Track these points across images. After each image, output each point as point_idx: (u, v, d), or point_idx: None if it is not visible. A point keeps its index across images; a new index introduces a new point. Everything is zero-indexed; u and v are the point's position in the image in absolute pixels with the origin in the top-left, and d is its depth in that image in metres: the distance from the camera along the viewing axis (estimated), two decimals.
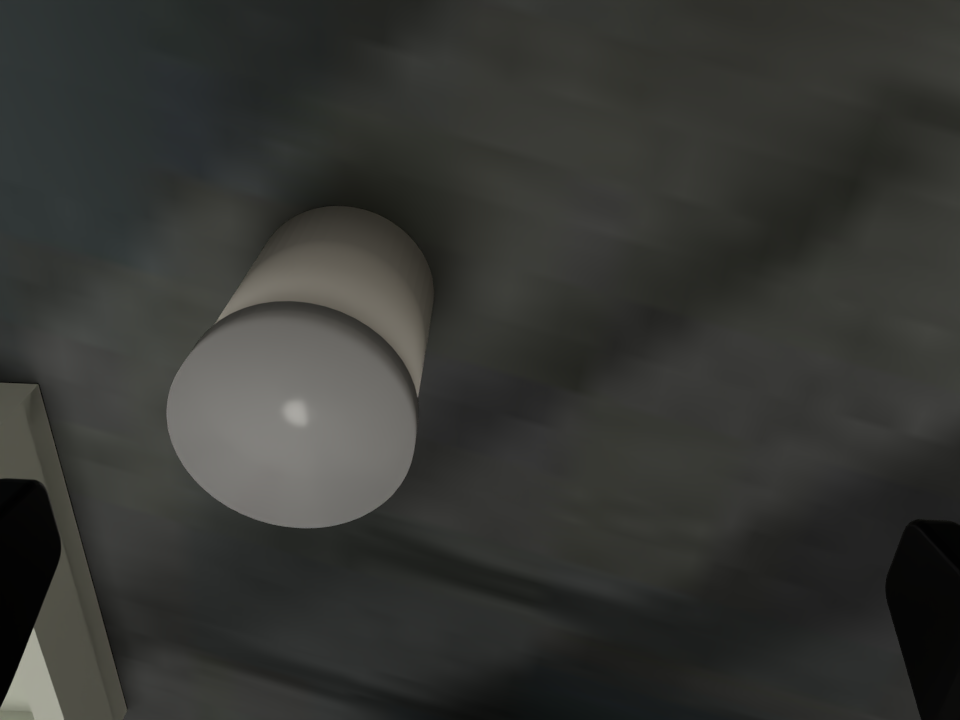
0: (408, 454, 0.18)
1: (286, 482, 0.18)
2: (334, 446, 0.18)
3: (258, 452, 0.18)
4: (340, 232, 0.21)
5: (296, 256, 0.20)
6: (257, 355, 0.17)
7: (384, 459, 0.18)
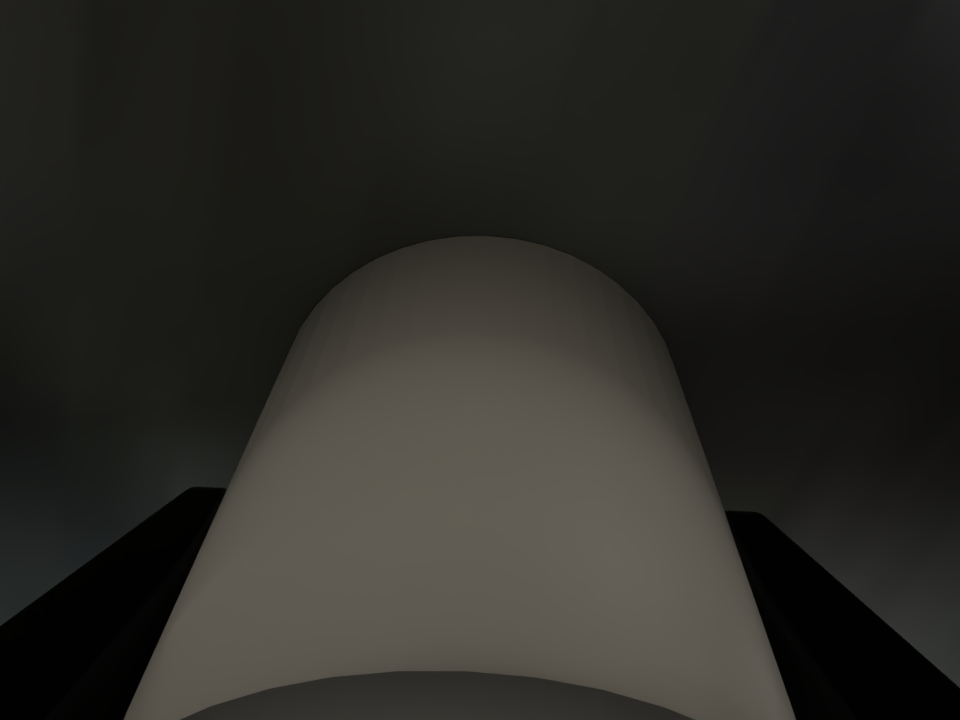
0: None
1: None
2: None
3: None
4: None
5: None
6: None
7: None
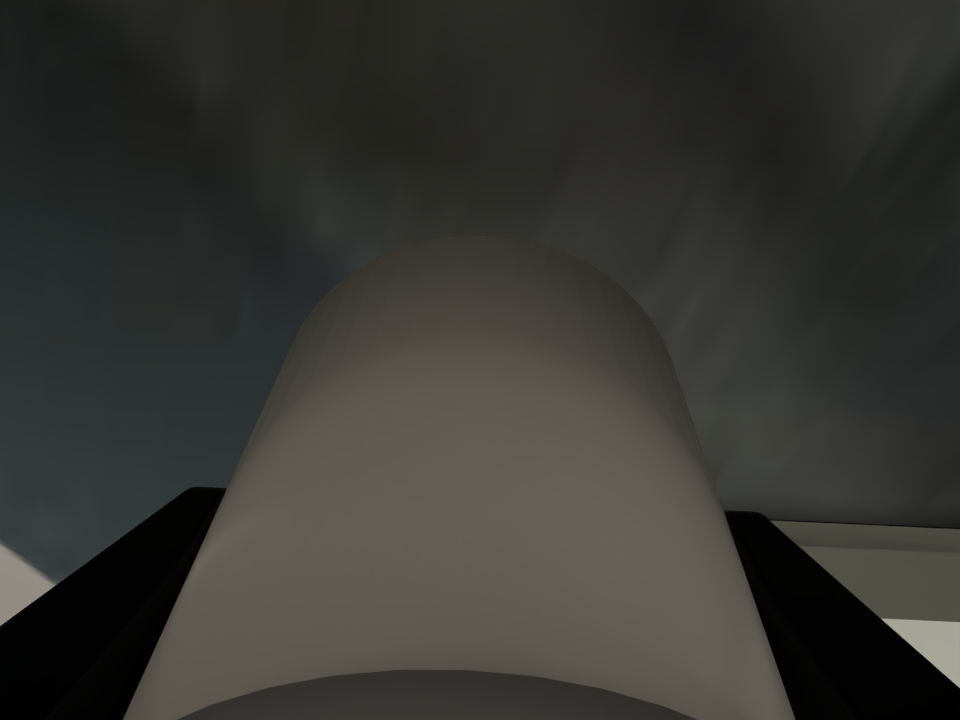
0: None
1: None
2: None
3: None
4: None
5: None
6: None
7: None
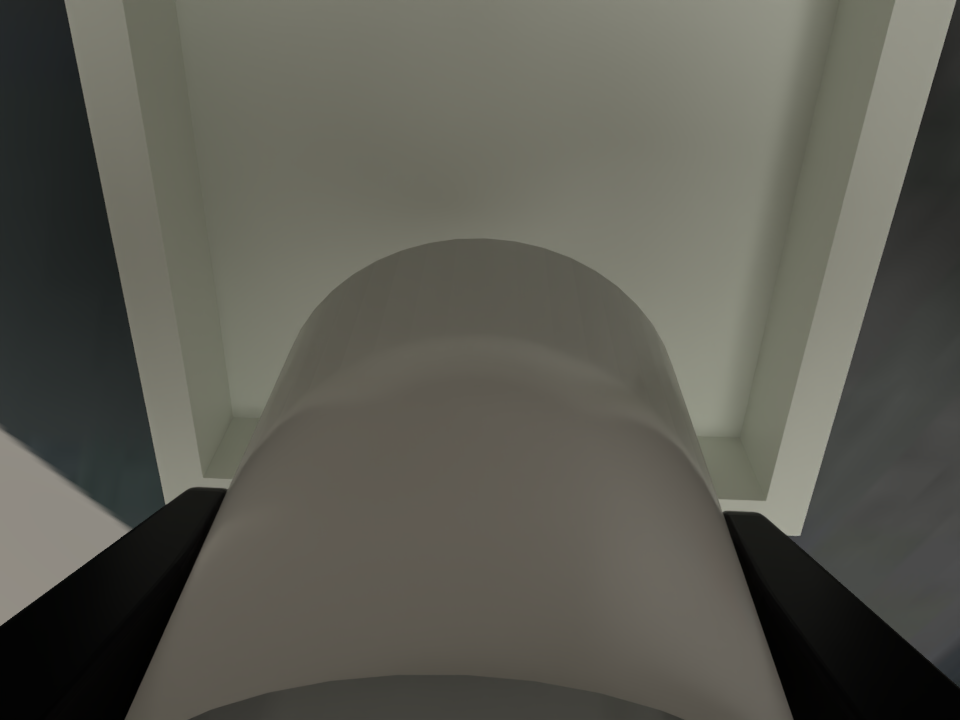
0: None
1: None
2: None
3: None
4: None
5: None
6: None
7: None
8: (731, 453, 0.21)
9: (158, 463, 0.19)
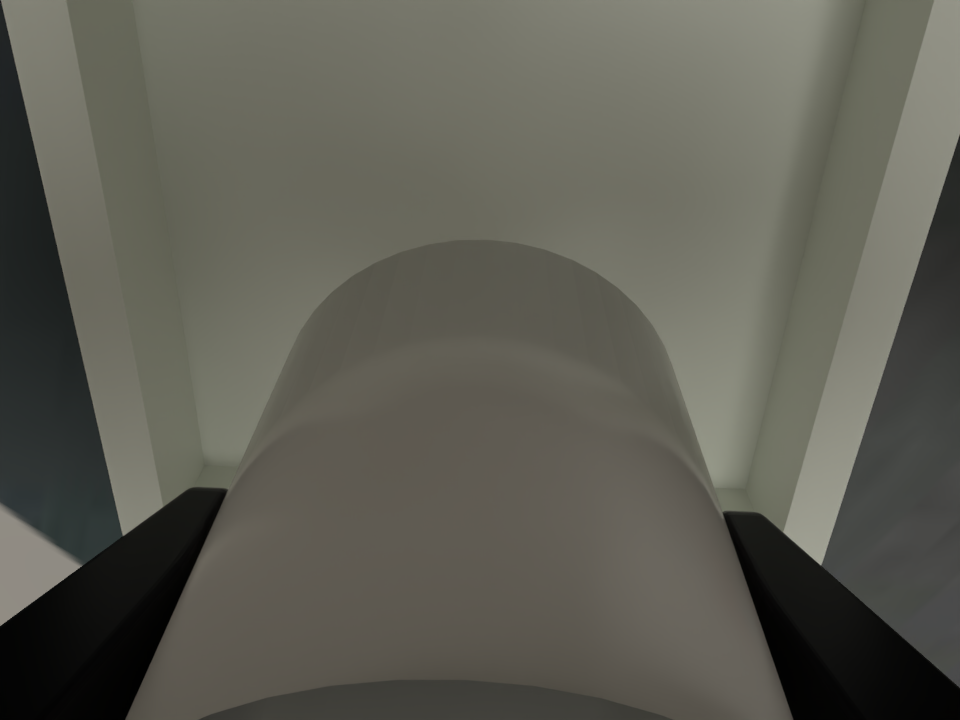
0: None
1: None
2: None
3: None
4: None
5: None
6: None
7: None
8: (736, 507, 0.20)
9: (120, 520, 0.18)
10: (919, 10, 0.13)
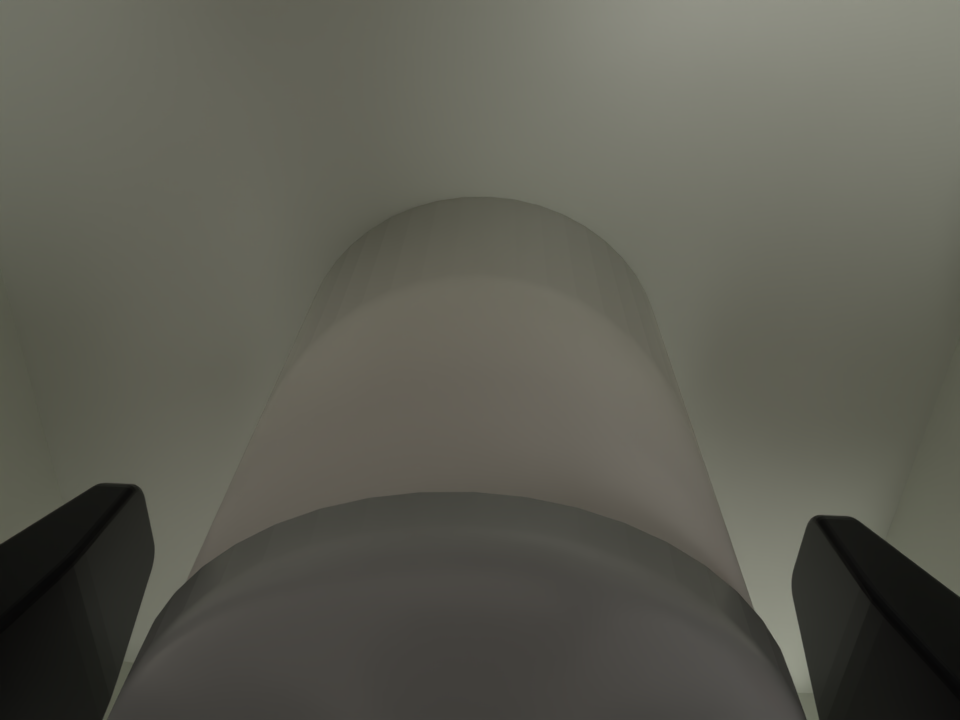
0: (541, 633, 0.05)
1: None
2: None
3: None
4: None
5: None
6: None
7: (564, 696, 0.05)
8: None
9: None
10: None
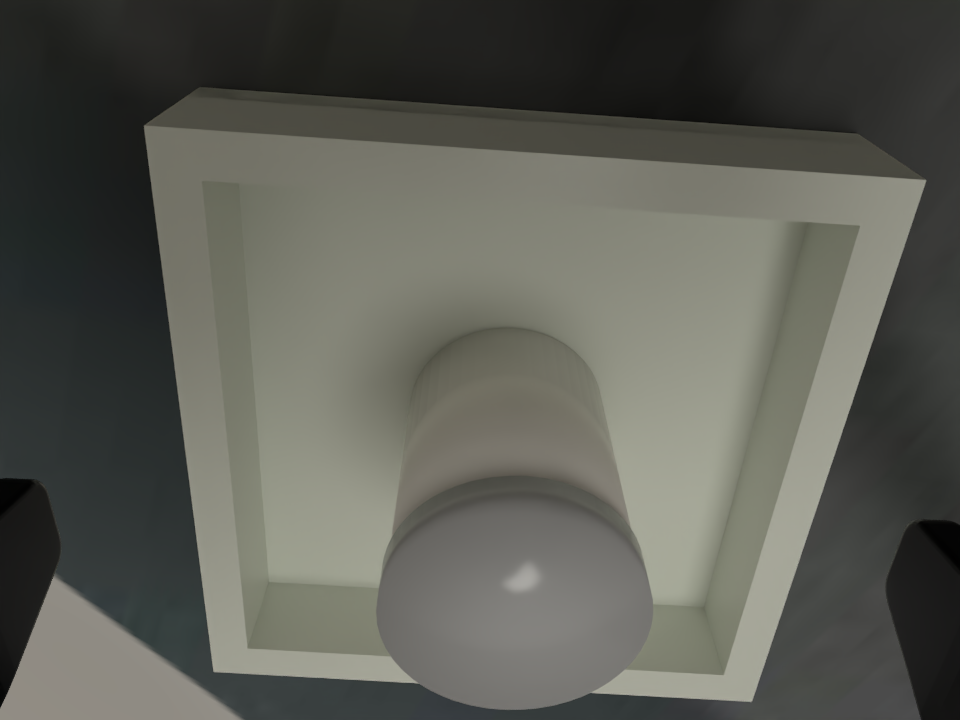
0: (551, 519, 0.15)
1: (581, 630, 0.16)
2: (535, 584, 0.15)
3: (538, 648, 0.16)
4: (405, 438, 0.20)
5: None
6: (414, 632, 0.16)
7: (557, 542, 0.15)
8: (696, 624, 0.25)
9: (209, 636, 0.23)
10: (826, 308, 0.18)
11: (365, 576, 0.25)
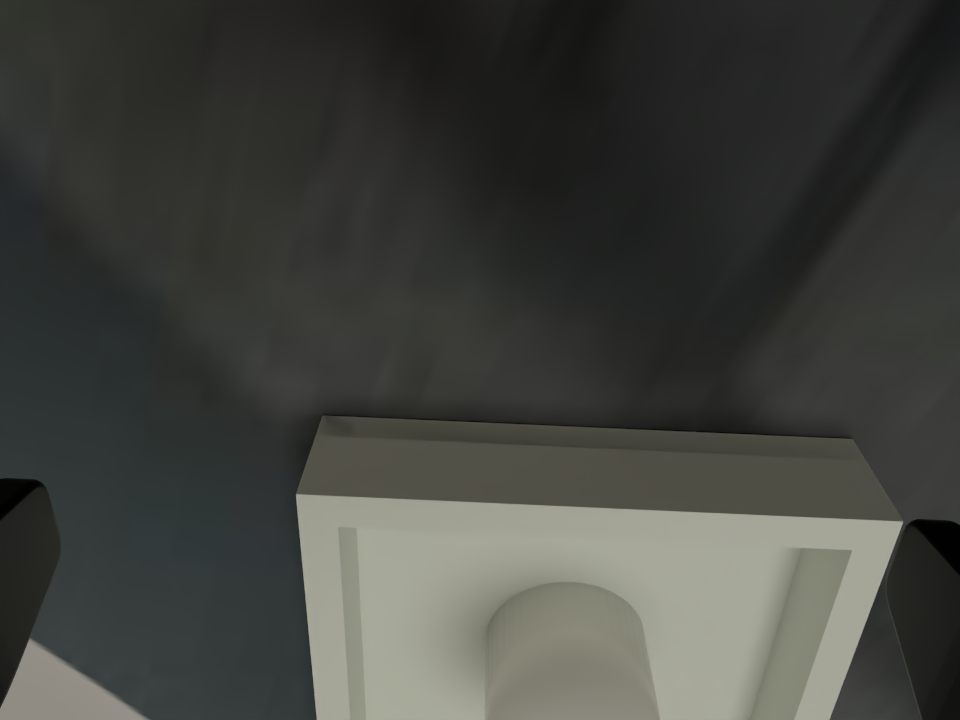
0: None
1: None
2: None
3: None
4: (486, 677, 0.25)
5: None
6: None
7: None
8: None
9: None
10: (827, 596, 0.23)
11: None
